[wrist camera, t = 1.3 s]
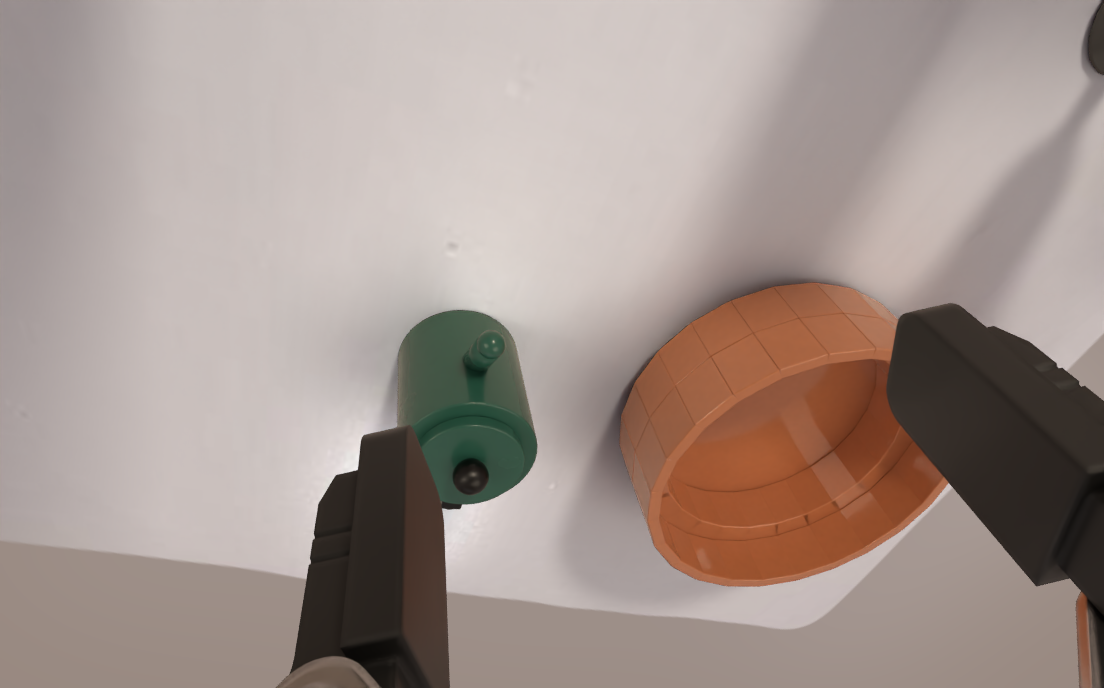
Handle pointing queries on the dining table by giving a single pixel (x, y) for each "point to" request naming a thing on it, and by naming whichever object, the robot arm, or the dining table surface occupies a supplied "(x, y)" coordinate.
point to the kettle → (466, 405)
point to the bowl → (774, 438)
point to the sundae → (1097, 41)
